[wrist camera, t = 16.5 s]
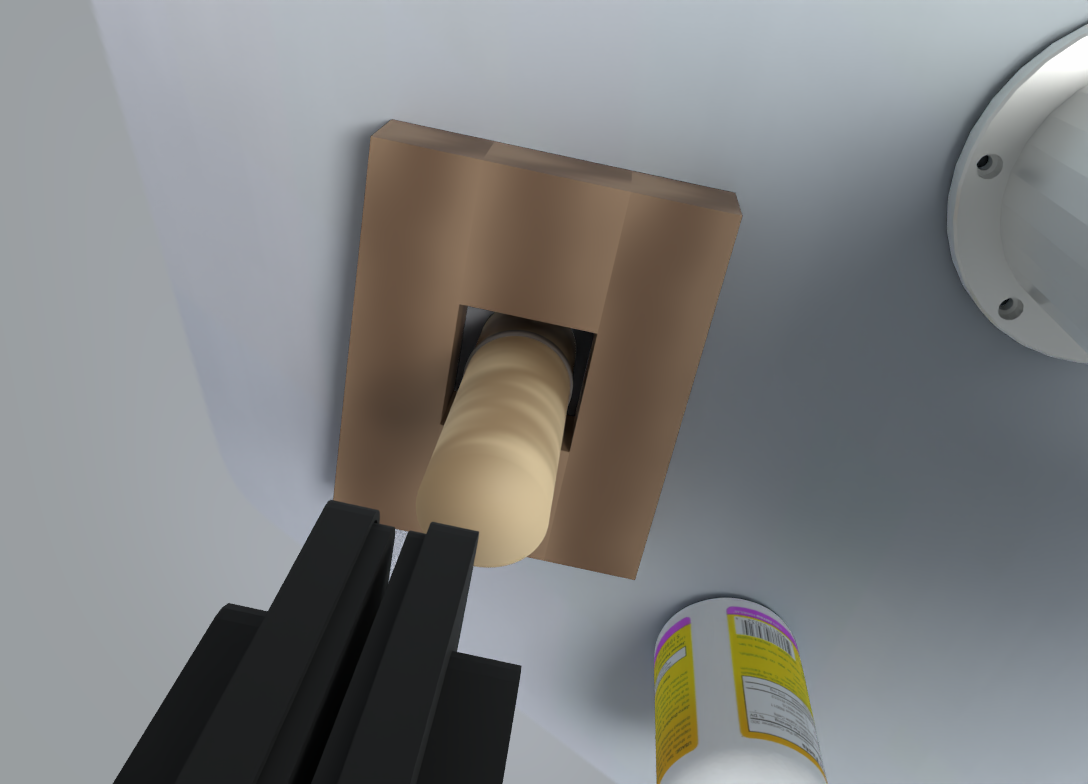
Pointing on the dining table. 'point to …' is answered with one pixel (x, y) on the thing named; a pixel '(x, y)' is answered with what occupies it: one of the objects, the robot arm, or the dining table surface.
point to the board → (534, 293)
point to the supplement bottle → (732, 699)
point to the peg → (503, 439)
